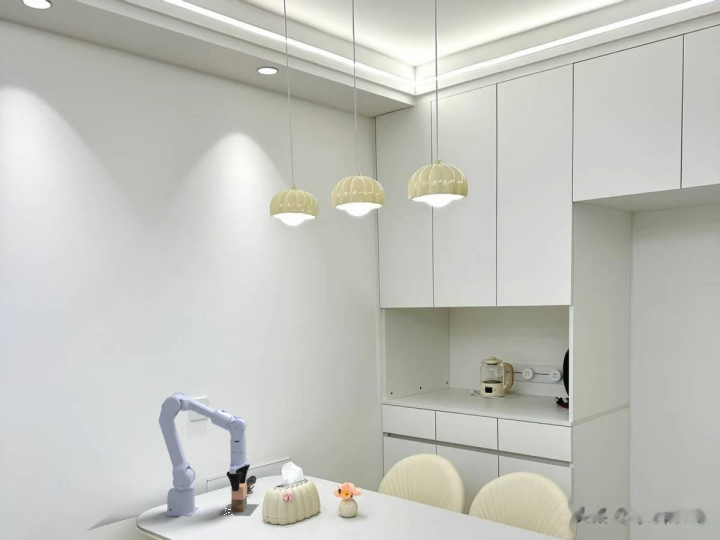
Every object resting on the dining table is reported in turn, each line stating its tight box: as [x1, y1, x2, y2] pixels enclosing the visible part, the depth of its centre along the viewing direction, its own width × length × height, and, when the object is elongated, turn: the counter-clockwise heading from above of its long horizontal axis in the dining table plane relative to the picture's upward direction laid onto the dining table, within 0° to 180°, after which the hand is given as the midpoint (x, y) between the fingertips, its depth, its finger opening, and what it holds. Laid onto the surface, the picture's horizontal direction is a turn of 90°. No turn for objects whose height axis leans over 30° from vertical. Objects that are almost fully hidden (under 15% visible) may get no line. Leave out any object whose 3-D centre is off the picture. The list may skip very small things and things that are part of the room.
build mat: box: [218, 503, 260, 517], centre depth 227 cm, size 12×12×1 cm
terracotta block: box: [230, 483, 248, 500], centre depth 227 cm, size 4×4×4 cm
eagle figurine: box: [245, 475, 257, 496], centre depth 246 cm, size 8×7×9 cm
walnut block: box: [230, 495, 248, 512], centre depth 227 cm, size 4×4×4 cm
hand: (238, 487), depth 227 cm, fingers open, 7 cm apart
